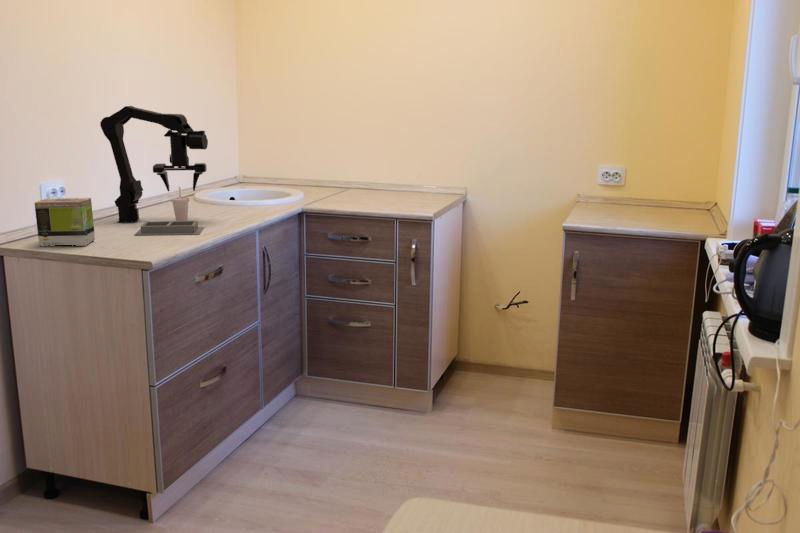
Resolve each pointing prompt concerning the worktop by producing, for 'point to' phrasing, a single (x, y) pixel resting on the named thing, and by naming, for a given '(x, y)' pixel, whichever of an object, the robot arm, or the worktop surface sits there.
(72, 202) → the tea box
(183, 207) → the smoothie
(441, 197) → the worktop surface
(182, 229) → the bottle carrier
